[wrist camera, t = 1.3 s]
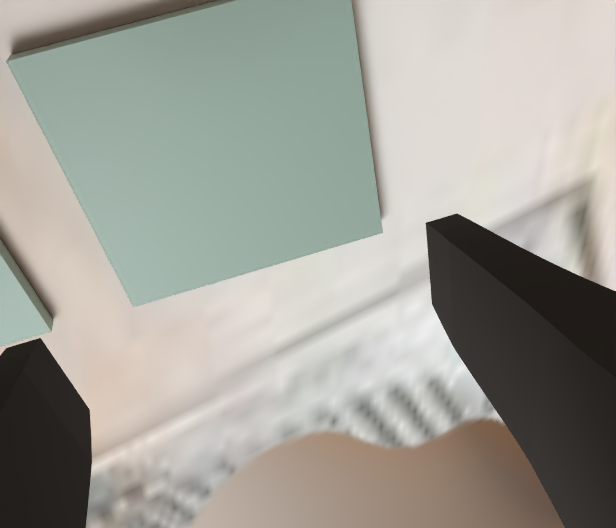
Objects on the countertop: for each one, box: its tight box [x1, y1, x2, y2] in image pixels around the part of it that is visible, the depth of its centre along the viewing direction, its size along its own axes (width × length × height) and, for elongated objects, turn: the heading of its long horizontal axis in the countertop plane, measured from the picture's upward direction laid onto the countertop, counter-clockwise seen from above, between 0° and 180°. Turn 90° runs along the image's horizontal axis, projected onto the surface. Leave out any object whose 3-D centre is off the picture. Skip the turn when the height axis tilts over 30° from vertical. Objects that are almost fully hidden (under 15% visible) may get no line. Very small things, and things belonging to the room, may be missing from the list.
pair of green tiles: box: [0, 0, 383, 347], centre depth 18 cm, size 22×9×1 cm, turn 101°
